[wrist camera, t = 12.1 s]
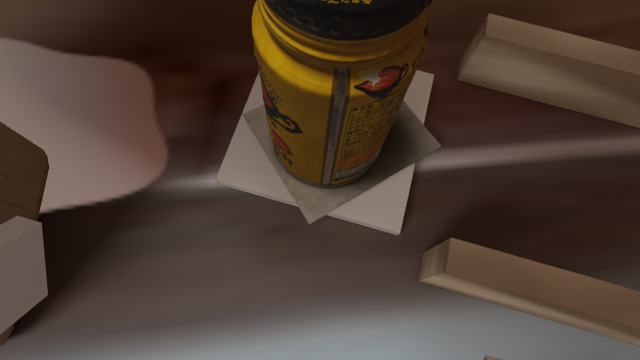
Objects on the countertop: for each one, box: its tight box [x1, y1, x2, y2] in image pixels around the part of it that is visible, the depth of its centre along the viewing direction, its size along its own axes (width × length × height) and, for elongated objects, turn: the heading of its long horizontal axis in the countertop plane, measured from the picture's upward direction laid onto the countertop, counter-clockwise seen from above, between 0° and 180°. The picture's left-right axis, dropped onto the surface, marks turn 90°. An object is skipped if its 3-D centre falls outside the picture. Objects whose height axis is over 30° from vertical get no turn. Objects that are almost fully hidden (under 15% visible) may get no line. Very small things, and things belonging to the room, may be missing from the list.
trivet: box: [216, 70, 434, 235], centre depth 22 cm, size 10×10×1 cm
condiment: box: [242, 0, 442, 224], centre depth 16 cm, size 7×8×12 cm
